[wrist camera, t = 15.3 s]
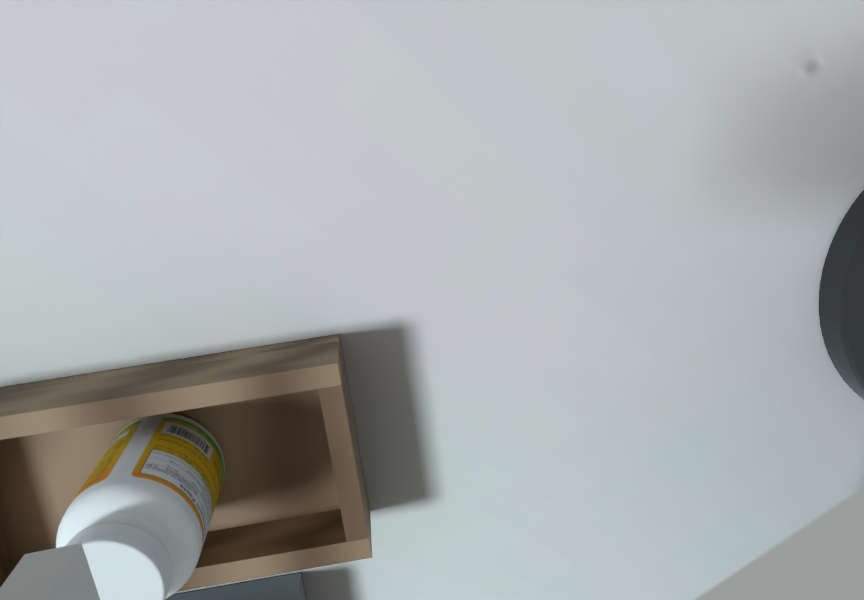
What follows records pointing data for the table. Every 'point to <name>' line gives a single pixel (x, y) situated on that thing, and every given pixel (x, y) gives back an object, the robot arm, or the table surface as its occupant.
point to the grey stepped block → (252, 590)
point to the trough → (237, 437)
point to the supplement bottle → (147, 508)
